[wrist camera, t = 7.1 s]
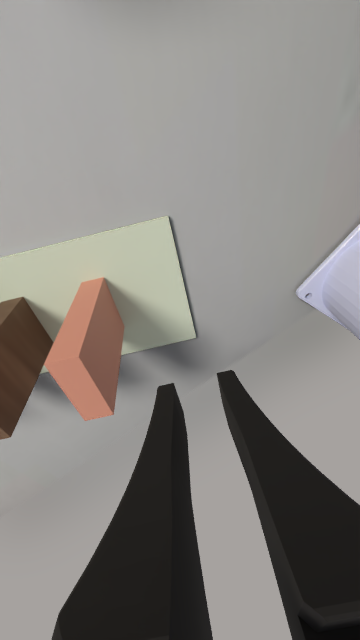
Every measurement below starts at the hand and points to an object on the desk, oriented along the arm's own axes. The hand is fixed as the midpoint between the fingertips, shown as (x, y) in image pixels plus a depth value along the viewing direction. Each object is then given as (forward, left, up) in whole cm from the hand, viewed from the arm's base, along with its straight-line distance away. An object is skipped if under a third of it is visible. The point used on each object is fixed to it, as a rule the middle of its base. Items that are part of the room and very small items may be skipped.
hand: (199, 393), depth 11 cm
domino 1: (+8, +8, -10) cm, 15 cm away
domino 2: (+4, +4, -10) cm, 11 cm away
